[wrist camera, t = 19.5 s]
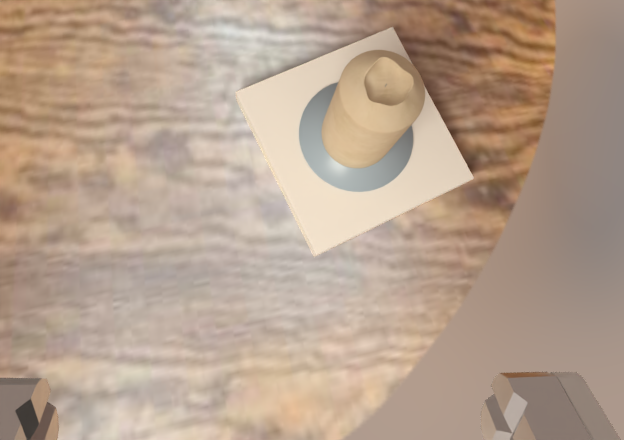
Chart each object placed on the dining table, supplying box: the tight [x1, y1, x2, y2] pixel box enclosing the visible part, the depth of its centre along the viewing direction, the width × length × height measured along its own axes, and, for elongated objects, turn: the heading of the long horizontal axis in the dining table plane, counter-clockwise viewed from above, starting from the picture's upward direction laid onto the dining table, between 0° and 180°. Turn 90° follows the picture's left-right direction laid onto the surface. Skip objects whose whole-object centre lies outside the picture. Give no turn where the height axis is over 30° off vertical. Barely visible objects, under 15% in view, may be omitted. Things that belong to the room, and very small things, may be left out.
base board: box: [236, 27, 474, 257], centre depth 44 cm, size 14×14×2 cm
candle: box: [321, 50, 425, 168], centre depth 38 cm, size 6×6×10 cm
